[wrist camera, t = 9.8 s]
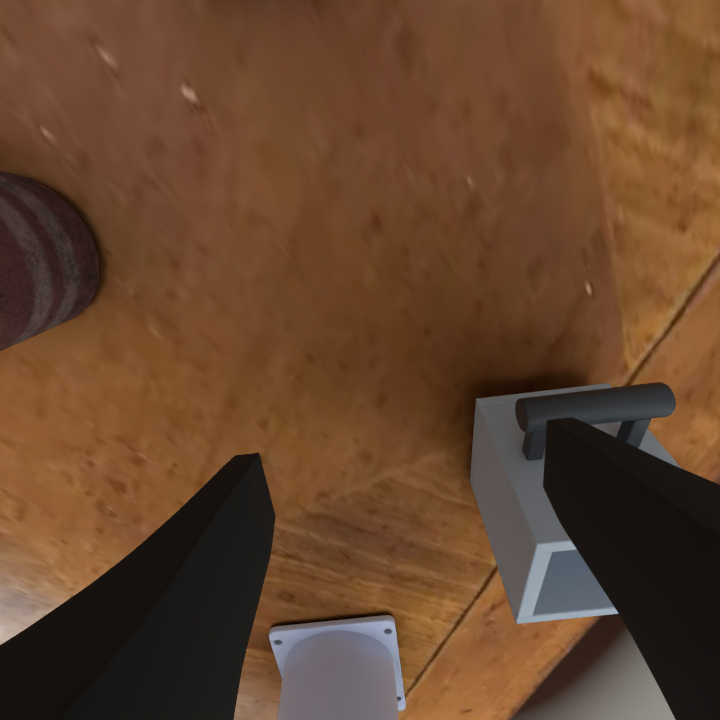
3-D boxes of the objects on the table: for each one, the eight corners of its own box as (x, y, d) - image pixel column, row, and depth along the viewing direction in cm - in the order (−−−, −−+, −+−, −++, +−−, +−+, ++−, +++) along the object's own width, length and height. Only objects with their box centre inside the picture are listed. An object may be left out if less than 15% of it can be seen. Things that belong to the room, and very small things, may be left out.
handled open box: (666, 609, 16) (773, 466, 11) (515, 624, 16) (551, 490, 11) (581, 468, 22) (625, 330, 17) (469, 480, 22) (479, 347, 17)
